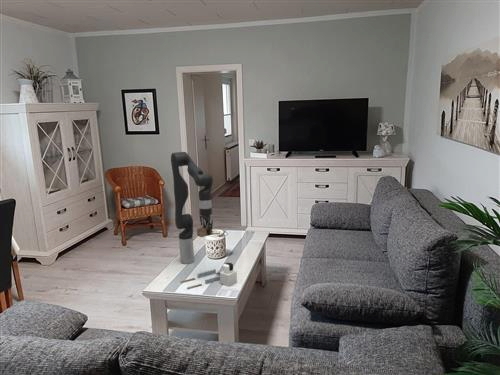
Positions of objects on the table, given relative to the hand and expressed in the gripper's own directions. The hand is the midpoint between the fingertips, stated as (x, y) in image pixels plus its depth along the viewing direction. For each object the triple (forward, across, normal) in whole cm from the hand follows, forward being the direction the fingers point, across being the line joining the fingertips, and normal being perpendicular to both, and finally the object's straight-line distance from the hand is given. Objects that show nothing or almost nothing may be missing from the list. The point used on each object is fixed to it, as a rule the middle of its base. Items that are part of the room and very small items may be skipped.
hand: (206, 233), depth 232 cm
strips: (+27, -4, +14) cm, 31 cm away
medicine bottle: (+28, -16, -5) cm, 32 cm away
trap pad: (+27, -4, -7) cm, 28 cm away
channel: (+27, -4, +1) cm, 28 cm away
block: (0, 0, +1) cm, 1 cm away
